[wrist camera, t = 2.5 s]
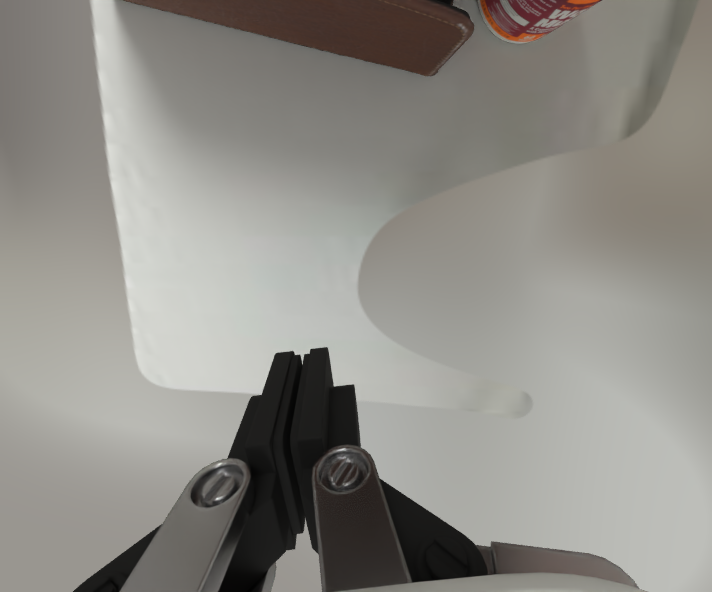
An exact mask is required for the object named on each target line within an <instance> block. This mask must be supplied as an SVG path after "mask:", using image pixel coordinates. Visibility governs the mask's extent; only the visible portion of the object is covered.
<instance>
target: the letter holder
mask: <svg viewBox="0 0 712 592" xmlns="http://www.w3.org/2000/svg"><path fill="white" fill-rule="evenodd" d="M124 1H127V2H131V3H135V4H139V5H144V6H148V7H151V8H155V9H160V10H162V11H168V12H172V13H175V14H180V15H184V16H188V17H192V18H196V19H200V20H204V21H206V22H212V23H215V24H220V25H224V26H227V27H232V28H235V29H240V30H243V31H248V32H252V33H256V34H260V35H263V36H268V37H271V38H276V39H279V40H283V41H287V42H291V43H295V44H299V45H303V46H307V47H312V48H316V49H319V50H322V51H328V52H332V53H336V54H339V55H344V56H348V57H353V58H356V59H361V60H364V61H368V62H373V63H377V64H381V65H386V66H390V67H394V68H398V69H402V70H406V71H410V72H414V73H418V74H421V75H424V76H433V75H435V74H436V73H437V72H438V70H439V69H440V68H441V67H442V66H443V65H444V63H446V61H447V60H448V59H449V58H450V57H451V56H452V55H453V54H454V53H455V52H456V51H457V50H458V49H459V48H460V47H461V46H462V45H463V44H464V43H465V41H467V40H468V39H469V38H470V36H471V35H472V33H473V31H474V24H473V22H471V20H470V17H469V15H468V13H467V12H466V11H464V10H461V9H459V8H457V7H454V6H452V5H453V1H454V0H124Z"/></svg>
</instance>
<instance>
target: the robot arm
mask: <svg viewBox="0 0 712 592" xmlns="http://www.w3.org/2000/svg"><path fill="white" fill-rule="evenodd" d="M305 518H306V522H307V527H308V531H309V535H310V540H311V544H312V548H313V549H314V550H315V551H316V552H317V553H318V554H319V563H320V573H321V584H322V592H647V591H644V590H641V589H639V588H638V586H637V584H636V583H635V581H634V580H633V579H632V578H631V577H630V576H629V575H627V574H626V573H625V572H624V571H623V570H622V569H621V568H620V567H618V566H617V565H615V564H613V563H612V562H610V561H608V560H607V559H605V558H603V557H599V556H596V555H592V554H589V553H580V552H572V551H565V550H557V549H549V548H540V547H532V546H523V545H516V544H508V543H500V542H491V547H487V546H479V545H475V544H474V543H473V542H472V541H471V540H470V539H468V538H467V537H466V536H465V535H464V534H462V533H461V532H459V531H458V530H456V529H455V528H453V527H452V526H450V525H449V524H447V523H446V522H444V521H443V520H441V519H440V518H438V517H437V516H435V515H434V514H432V513H431V512H429V511H428V510H426V509H425V508H423V507H422V506H420V505H418V504H417V503H416V502H414V501H413V500H411V499H410V498H408V497H406V496H405V495H404V494H402V493H401V492H399V491H398V490H396V489H395V488H393V487H392V486H390V485H389V484H387V483H386V482H384V481H383V480H381V479H380V478H379V476H378V473H377V469H376V467H375V463H374V461H373V459H372V457H371V455H370V454H369V453H368V452H367V451H365V450H364V449H362V448H361V444H360V433H359V423H358V412H357V405H356V395H355V387H354V384H353V385H345V386H336V387H334V385H333V379H332V372H331V365H330V358H329V352H328V348H327V347H325V348H316V349H311V350H310V354H305V355H304V360H303V365H302V360H301V356H300V355H295V354H294V352H293V351H290V352H281V353H276V354H275V356H274V359H273V362H272V365H271V368H270V371H269V374H268V377H267V380H266V383H265V386H264V389H263V392H262V395H257V396H252V397H251V399H250V401H249V403H248V406H247V408H246V411H245V414H244V416H243V419H242V421H241V424H240V427H239V429H238V432H237V434H236V437H235V440H234V443H233V445H232V448H231V450H230V453H229V456H228V458H227V459H222V460H219V461H216V462H213V463H211V464H210V465H208V466H206V467H204V468H203V469H202V470H200V471H199V472H198V473H197V474H196V475H195V476H194V477H193V478H192V479H191V481H190V482H189V483H188V484H187V486H186V488H185V489H184V491H183V492H182V494H181V496H180V497H179V499H178V500H177V502H176V503H175V505H174V506H173V508H172V510H171V511H170V513H169V514H168V516H167V517H166V519H165V521H164V522H163V524H161V525H160V526H159V527H157V528H156V529H155V530H153V531H152V532H150V533H149V534H148V535H146V536H145V537H144V538H142V539H141V540H140V541H138V542H137V543H136V544H134V545H133V546H132V547H130V548H129V549H128V550H126V551H125V552H124V553H122V554H121V555H119V556H118V557H117V558H115V559H114V560H113V561H111V562H110V563H109V564H107V565H106V566H105V567H103V568H102V569H101V570H99V571H98V572H97V573H95V574H94V575H93V576H91V577H90V578H88V579H87V580H86V581H85V582H83V583H82V584H81V585H80V586H79V587H78V588H76V589H75V590H74V591H73V592H271V589H272V586H273V582H274V578H275V573H276V561H277V560H278V559H279V558H280V557H281V556H282V555H283V554H284V553H285V552H286V550H292V549H295V545H296V535H297V534H300V533H303V531H304V524H305Z"/></svg>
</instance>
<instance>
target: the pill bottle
mask: <svg viewBox="0 0 712 592" xmlns="http://www.w3.org/2000/svg"><path fill="white" fill-rule="evenodd" d="M600 1H602V0H478V5H479V10H480V13H481V16H482V18H483V20H484V22H485V24H486V25H487V27H488V28H489V29H490V31H491V32H492V33H493V34H494V35H496V36H497V37H498V38H500V39H501V40H503V41H506V42H510V43H517V44H518V43H528V42H532V41H535V40H537V39H539V38H541V37H543V36H545V35H547V34H548V33H550V32H552V31H553V30H555V29H556V28H558V27H560V26H561V25H563V24H564V23H566V22H568V21H569V20H571V19H573V18H574V17H576V16H577V15H579V14H581V13H582V12H584V11H585V10H587V9H589V8H590V7H592V6H594V5H595V4H597V3H598V2H600Z"/></svg>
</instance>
